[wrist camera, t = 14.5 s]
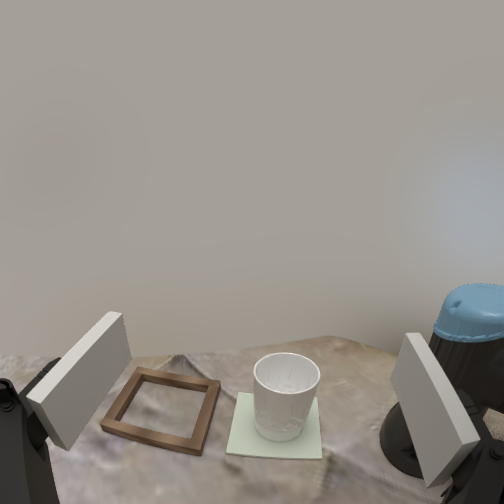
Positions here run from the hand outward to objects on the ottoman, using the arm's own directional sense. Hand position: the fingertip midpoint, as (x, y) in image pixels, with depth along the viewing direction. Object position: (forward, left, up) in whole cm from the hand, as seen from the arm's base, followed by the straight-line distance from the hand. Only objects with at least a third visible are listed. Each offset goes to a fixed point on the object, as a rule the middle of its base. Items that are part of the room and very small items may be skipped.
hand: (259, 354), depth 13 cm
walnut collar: (+14, -17, -25) cm, 34 cm away
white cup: (-3, -17, -25) cm, 31 cm away
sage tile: (-2, -17, -25) cm, 31 cm away
